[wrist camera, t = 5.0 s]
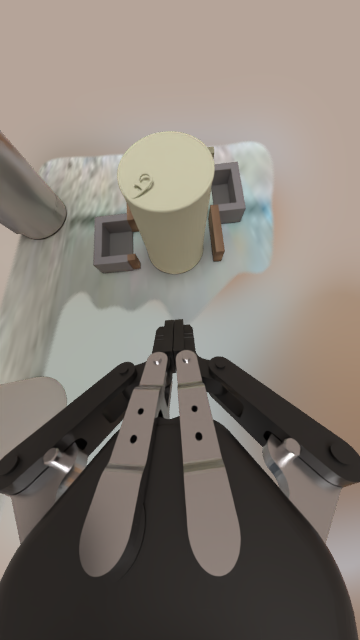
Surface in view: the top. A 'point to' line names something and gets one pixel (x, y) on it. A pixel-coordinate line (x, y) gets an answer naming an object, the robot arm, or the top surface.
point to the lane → (213, 225)
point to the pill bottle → (27, 408)
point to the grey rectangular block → (169, 196)
